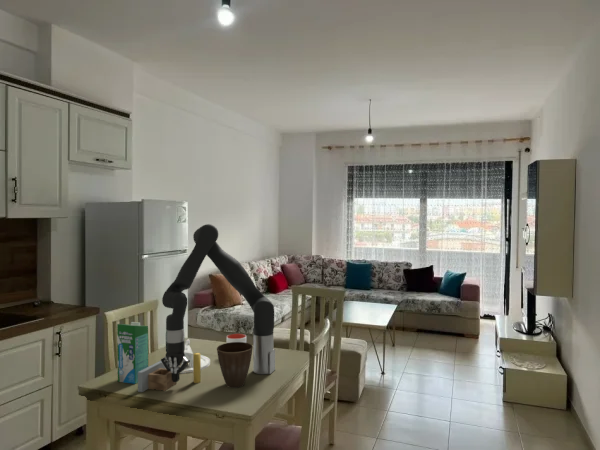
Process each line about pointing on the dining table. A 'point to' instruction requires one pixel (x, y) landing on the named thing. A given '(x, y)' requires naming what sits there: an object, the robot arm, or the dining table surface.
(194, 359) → the dowel
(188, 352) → the dish
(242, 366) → the plant pot
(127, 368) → the milk carton
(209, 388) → the dining table surface
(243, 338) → the cup
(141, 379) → the wall
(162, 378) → the brown wooden open box
